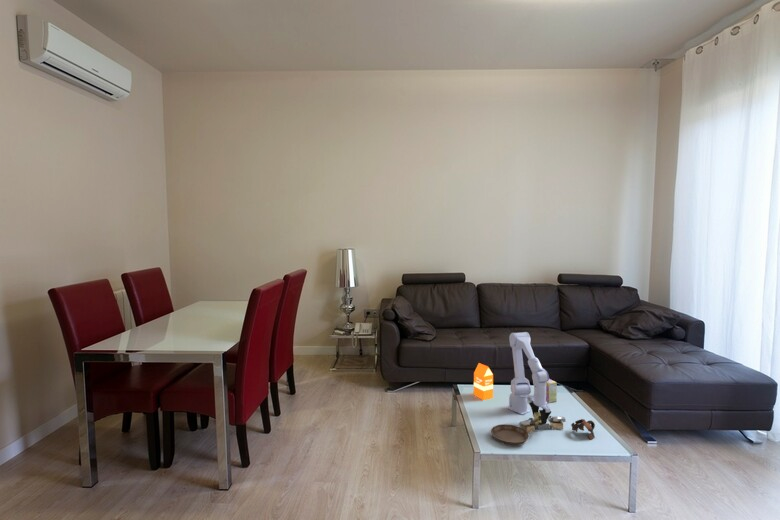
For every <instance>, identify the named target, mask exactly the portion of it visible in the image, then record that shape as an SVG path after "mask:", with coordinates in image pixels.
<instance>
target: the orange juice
mask: <svg viewBox="0 0 780 520" xmlns="http://www.w3.org/2000/svg"><path fill="white" fill-rule="evenodd" d="M474 395H476V396H477V397H479V398H481V399H482V400H481V399H480V400H481V401H483V400H485V401H487V400H486V399H488V400H491V398H492V399H494V373H493V372H492V370H491V369H490V367H489V366H488V365H485V364H482V363H480V362H478V364H477V366H476V368H475V370H474V371H473V396H474ZM476 396H475V397H476ZM477 397H476V398H477ZM479 398H478V399H479Z"/></svg>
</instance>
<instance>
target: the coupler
mask: <svg viewBox="0 0 780 520" xmlns="http://www.w3.org/2000/svg"><path fill="white" fill-rule="evenodd" d="M533 419H534V420H535V423H534V424H535V425H536V426H537V425H539V424H542V422H541V415H540V412H539V411H538V412H535V413H534V417H533Z"/></svg>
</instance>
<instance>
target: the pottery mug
mask: <svg viewBox="0 0 780 520" xmlns="http://www.w3.org/2000/svg"><path fill="white" fill-rule="evenodd" d="M570 426H571V430H572V431H573V432H574V431H575V432H576V433H578V430H581V431H585V428H586V429H587V432H590V434H588V435H587V436H588V439H589V440H591V441H592V440H593V439H594V438H595V433H594V429H595V428H596V424H595V422H594V421H593V420H587V421H586V420H585V419H584V418H583V419H577V420H575V422H572V423H571V424H570Z"/></svg>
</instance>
